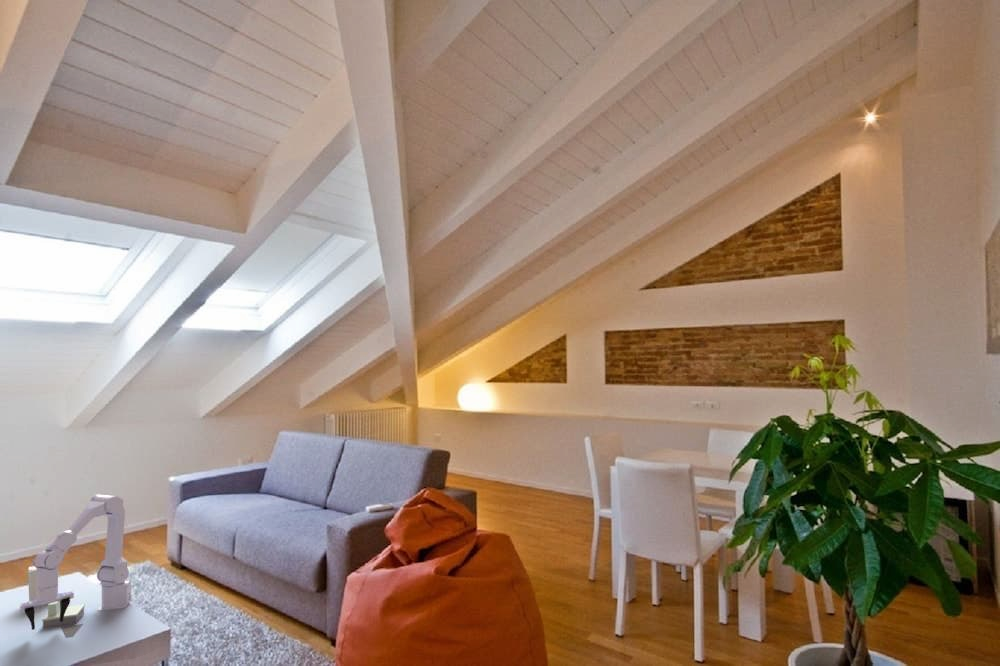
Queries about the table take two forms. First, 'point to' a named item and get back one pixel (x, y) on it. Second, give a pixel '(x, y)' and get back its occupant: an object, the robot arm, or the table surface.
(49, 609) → the lid
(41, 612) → the table surface
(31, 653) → the table surface
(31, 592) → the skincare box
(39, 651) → the table surface
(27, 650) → the table surface
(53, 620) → the tub
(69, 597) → the robot arm
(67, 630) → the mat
